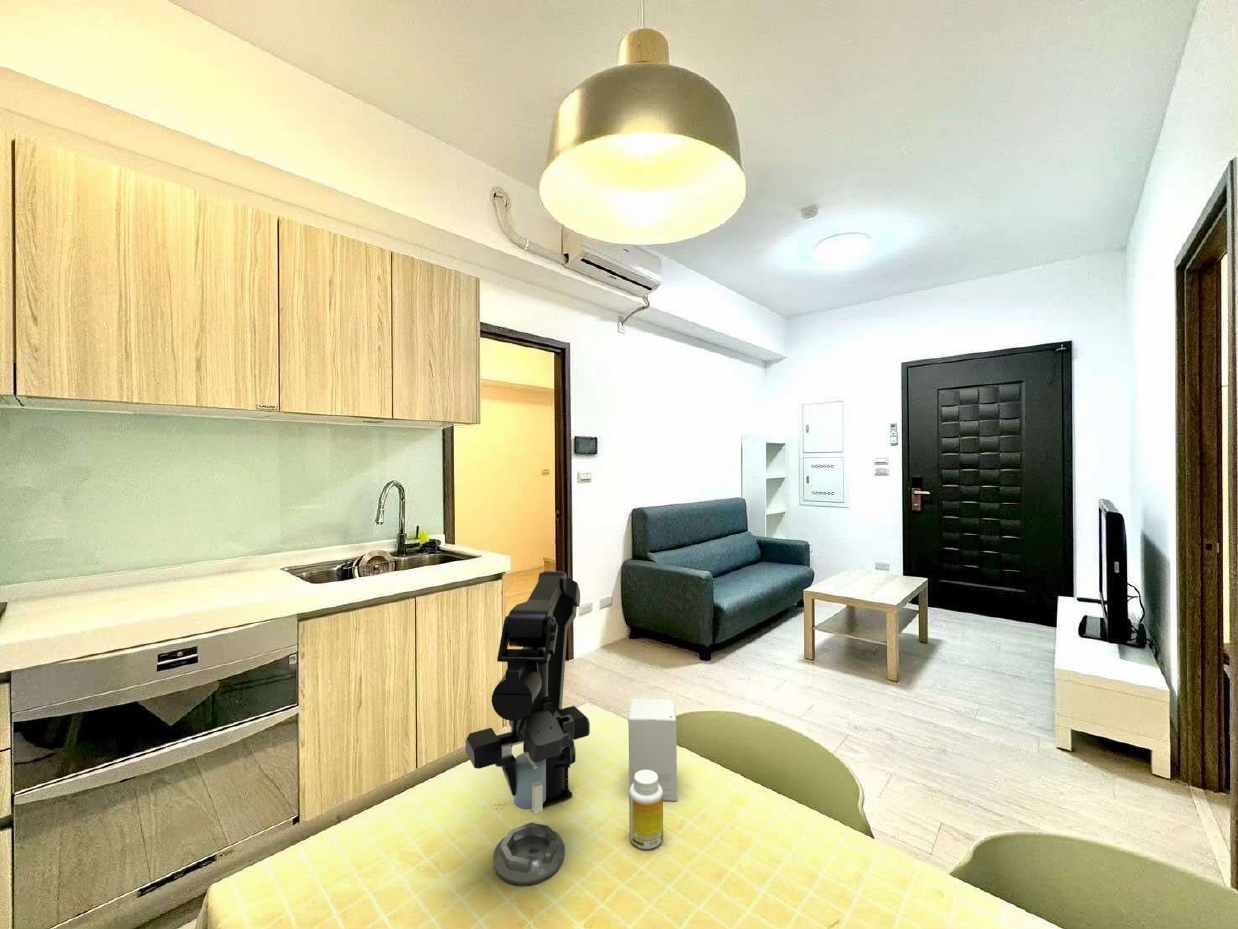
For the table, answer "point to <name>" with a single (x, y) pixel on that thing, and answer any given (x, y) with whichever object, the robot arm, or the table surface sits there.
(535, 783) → the knob
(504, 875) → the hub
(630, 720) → the supplement box
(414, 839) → the table surface
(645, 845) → the supplement bottle
